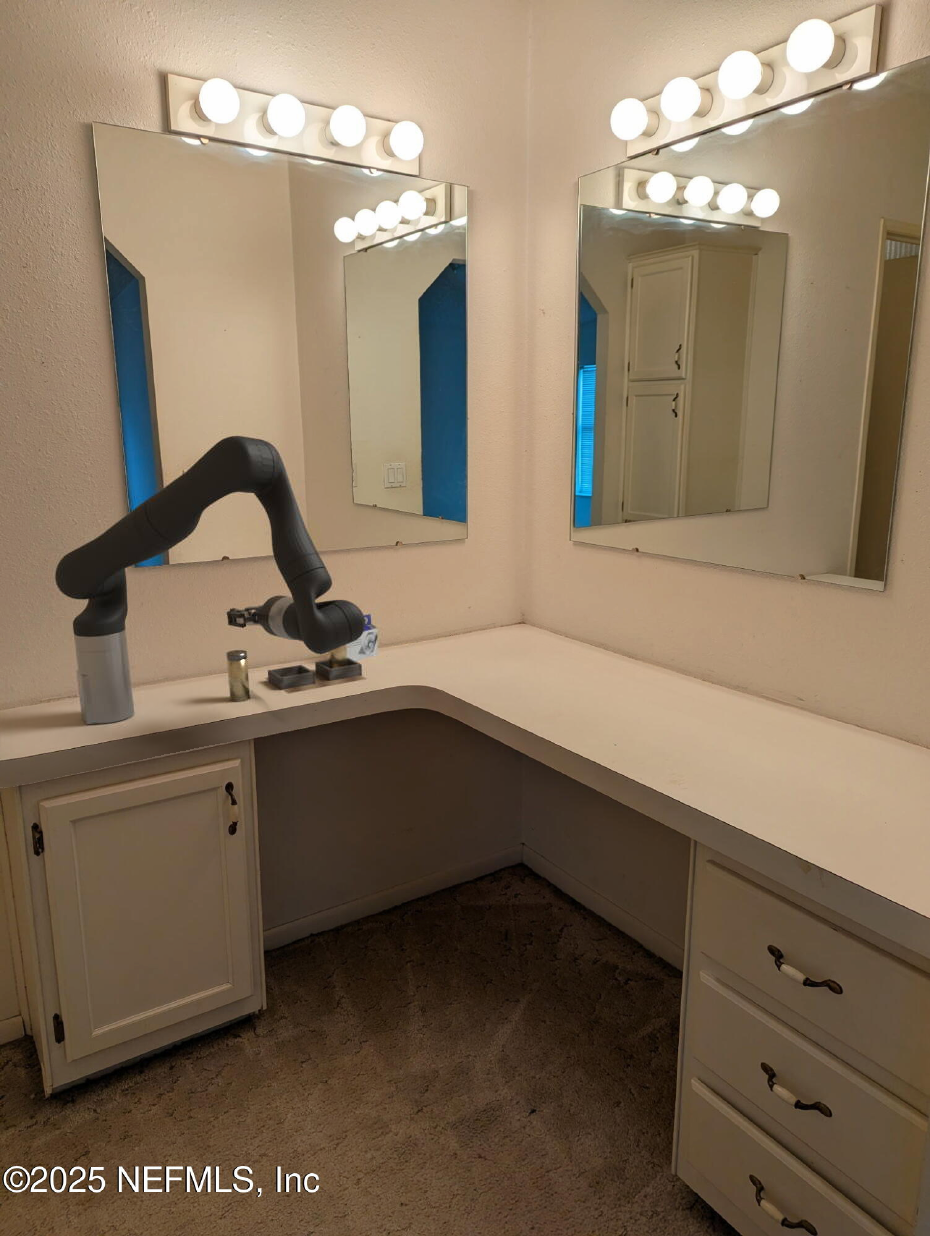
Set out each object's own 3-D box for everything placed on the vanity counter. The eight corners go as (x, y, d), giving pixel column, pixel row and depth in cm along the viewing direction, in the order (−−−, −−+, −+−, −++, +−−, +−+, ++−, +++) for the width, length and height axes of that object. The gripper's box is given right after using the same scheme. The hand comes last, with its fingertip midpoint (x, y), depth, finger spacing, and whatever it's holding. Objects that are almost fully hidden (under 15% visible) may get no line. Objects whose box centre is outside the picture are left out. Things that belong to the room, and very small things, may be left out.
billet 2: (334, 677, 186) (331, 633, 184) (326, 673, 189) (324, 630, 187) (351, 674, 188) (348, 630, 186) (343, 670, 191) (341, 627, 189)
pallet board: (287, 700, 175) (286, 681, 174) (263, 684, 187) (262, 667, 186) (368, 685, 185) (367, 667, 184) (341, 670, 197) (340, 654, 196)
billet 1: (233, 703, 174) (229, 656, 172) (227, 698, 178) (223, 652, 175) (253, 699, 176) (249, 653, 174) (246, 694, 180) (243, 649, 178)
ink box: (346, 671, 196) (343, 622, 194) (338, 670, 198) (336, 621, 195) (379, 660, 205) (377, 614, 203) (372, 659, 207) (370, 613, 204)
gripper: (322, 591, 156) (284, 586, 168) (249, 603, 147) (214, 596, 160) (326, 631, 157) (288, 623, 170) (254, 645, 149) (220, 635, 161)
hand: (252, 610), depth 165 cm, fingers open, 8 cm apart
